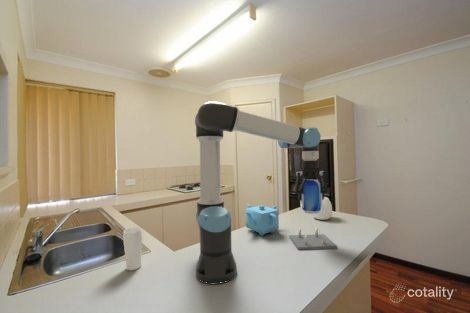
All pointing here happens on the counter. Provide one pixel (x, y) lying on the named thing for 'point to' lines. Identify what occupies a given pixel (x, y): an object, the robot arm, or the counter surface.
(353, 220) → the counter surface
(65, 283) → the counter surface
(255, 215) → the teakettle
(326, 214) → the cup
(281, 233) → the counter surface
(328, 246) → the pegboard
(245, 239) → the counter surface
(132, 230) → the white cylinder
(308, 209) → the beer can
